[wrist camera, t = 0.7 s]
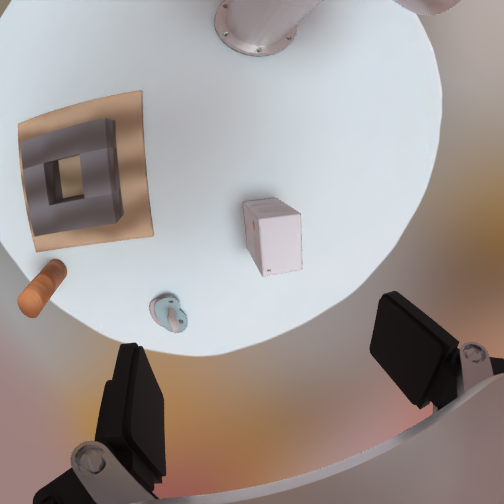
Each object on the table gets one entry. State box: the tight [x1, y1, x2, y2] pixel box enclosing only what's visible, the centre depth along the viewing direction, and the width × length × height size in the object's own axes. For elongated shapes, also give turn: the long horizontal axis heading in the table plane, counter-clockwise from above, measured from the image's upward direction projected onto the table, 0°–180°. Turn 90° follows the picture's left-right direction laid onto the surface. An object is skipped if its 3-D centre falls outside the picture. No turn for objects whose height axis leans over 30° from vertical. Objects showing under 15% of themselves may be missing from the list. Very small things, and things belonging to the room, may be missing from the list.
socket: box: [18, 90, 154, 252], centre depth 32 cm, size 22×22×6 cm
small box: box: [243, 198, 302, 277], centre depth 39 cm, size 8×6×10 cm
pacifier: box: [150, 297, 187, 333], centre depth 44 cm, size 7×6×6 cm
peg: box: [17, 259, 67, 318], centre depth 34 cm, size 4×4×12 cm
